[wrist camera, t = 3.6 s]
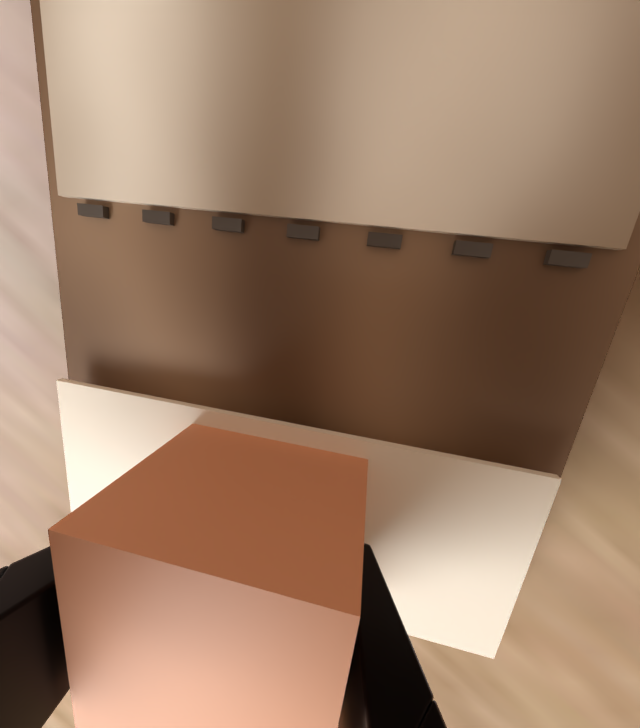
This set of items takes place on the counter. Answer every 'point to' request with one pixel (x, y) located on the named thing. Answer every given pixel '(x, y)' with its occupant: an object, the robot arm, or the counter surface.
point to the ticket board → (348, 209)
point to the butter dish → (264, 558)
